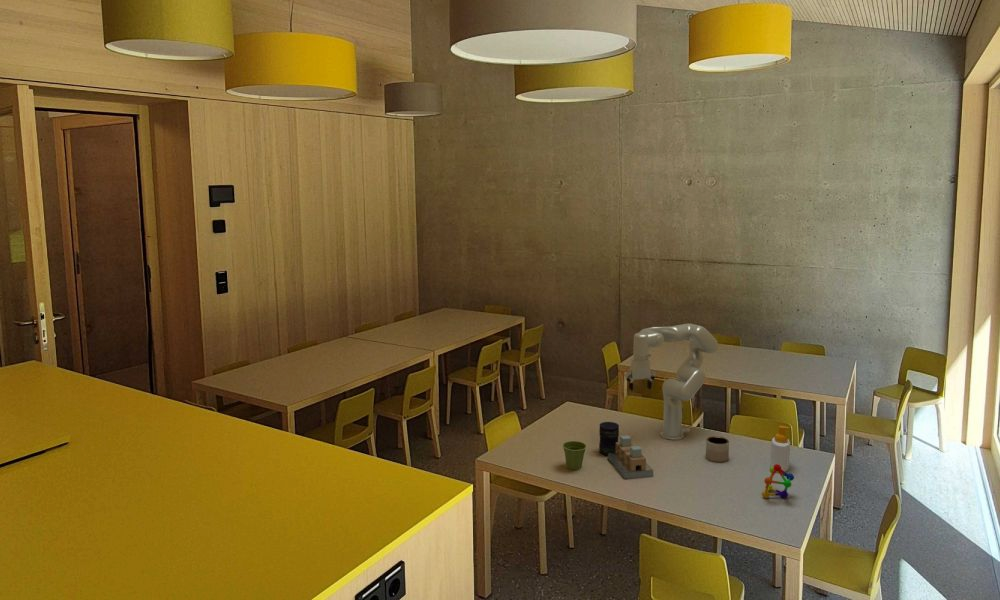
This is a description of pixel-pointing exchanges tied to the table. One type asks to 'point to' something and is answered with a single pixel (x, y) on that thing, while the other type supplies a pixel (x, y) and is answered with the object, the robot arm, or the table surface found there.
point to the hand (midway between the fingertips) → (640, 389)
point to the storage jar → (608, 437)
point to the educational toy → (777, 482)
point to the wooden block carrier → (630, 457)
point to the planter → (717, 449)
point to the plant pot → (574, 454)
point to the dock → (625, 470)
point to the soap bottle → (780, 449)
